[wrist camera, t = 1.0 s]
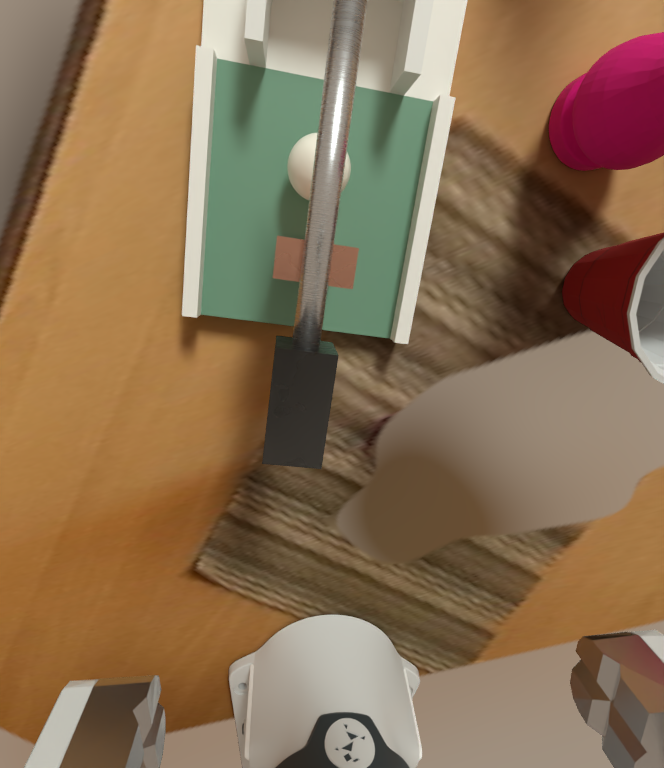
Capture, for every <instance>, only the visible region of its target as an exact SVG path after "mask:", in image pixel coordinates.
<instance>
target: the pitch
mask: <svg viewBox="0 0 664 768" xmlns="http://www.w3.org/2000/svg"><path fill="white" fill-rule="evenodd" d="M333 2H334V0H204V6H203V24H202V42H201V46H198V45H196V59H195V78H194V97H193V116H192V135H191V154H190V172H189V191H188V210H187V229H186V248H185V267H184V286H183V305H182V316H187V317H195V318H197V317H198V316H200V315H209V316H217V317H225V318H233V319H240V320H248V321H256V322H264V323H272V324H280V325H288V326H294V322H295V314H296V306H297V298H298V289H299V282H296V281H289V280H282V279H275V278H273V270H274V260H275V251H276V241H277V236H283V237H289V238H296V239H302V240H305V232H306V224H307V215H308V207H309V200H307V199H305V198H303V197H302V196H300V195H299V194H298V193H297V192H296V191H295V189H294V188H293V186H292V184H291V182H290V180H289V176H288V170H287V164H288V158H289V155H290V152H291V150H292V148H293V147H294V145H295V144H296V143H297V142H298V141H299V140H300V139H301V138H303V137H304V136H306V135H308V134H311V133H318V125H319V117H320V108H321V100H322V92H323V84H324V76H325V67H326V59H327V51H328V43H329V34H330V26H331V18H332V10H333ZM466 5H467V0H368V2H367V10H366V17H365V24H364V31H363V38H362V46H361V53H360V60H359V67H358V74H357V82H356V89H355V96H354V103H353V110H352V118H351V125H350V132H349V139H348V146H347V153H348V155H349V158H350V163H351V173H350V178H349V181H348V183H347V185H346V187H345V189H344V190H343V191H342V193H341V197H340V204H339V211H338V218H337V225H336V233H335V240H334V244H335V245H342V246H348V247H355V248H359V252H358V258H357V265H356V271H355V278H354V284H353V289H347V288H339V287H332V286H328V290H327V297H326V305H325V312H324V319H323V326H322V330H327V331H335V332H343V333H351V334H359V335H367V336H375V337H383V338H390V339H391V340H392V341H393V342H395V343H402V344H408V341H409V336H410V331H411V326H412V320H413V315H414V310H415V305H416V300H417V295H418V289H419V284H420V279H421V274H422V269H423V264H424V258H425V253H426V248H427V243H428V238H429V232H430V227H431V222H432V217H433V212H434V207H435V201H436V196H437V191H438V186H439V181H440V175H441V170H442V165H443V160H444V155H445V150H446V144H447V139H448V134H449V129H450V124H451V119H452V113H453V108H454V103H455V98H456V97H451V96H449V95H450V89H451V84H452V79H453V73H454V68H455V63H456V58H457V52H458V47H459V42H460V37H461V31H462V26H463V21H464V15H465V10H466Z"/></svg>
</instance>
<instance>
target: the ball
mask: <svg viewBox="0 0 664 768" xmlns="http://www.w3.org/2000/svg"><path fill="white" fill-rule="evenodd" d="M316 141H317V133H311V134H308V135H306V136H304V137H303V138H301V139H300V140H299V141H298V142H297V143H296V144H295V145H294V147H293V148H292V150H291V152H290V155H289V158H288V164H287V170H288V176H289V180H290V182H291V184H292V186H293V188H294V189H295V191H296V192H297V193H298V194H299V195H300V196H302V197H303V198H305V199H307V200H309V199H310V191H311V182H312V174H313V166H314V158H315V150H316ZM350 173H351V163H350V158H349V155H348V153H347V154H346V161H345V168H344V175H343V182H342V189H341V193H342V191H343V190H344V189H345V187H346V185H347V183H348V181H349V178H350Z"/></svg>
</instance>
